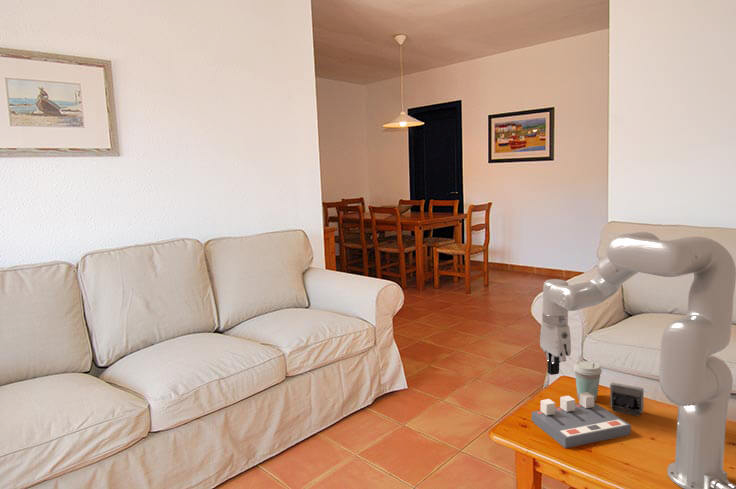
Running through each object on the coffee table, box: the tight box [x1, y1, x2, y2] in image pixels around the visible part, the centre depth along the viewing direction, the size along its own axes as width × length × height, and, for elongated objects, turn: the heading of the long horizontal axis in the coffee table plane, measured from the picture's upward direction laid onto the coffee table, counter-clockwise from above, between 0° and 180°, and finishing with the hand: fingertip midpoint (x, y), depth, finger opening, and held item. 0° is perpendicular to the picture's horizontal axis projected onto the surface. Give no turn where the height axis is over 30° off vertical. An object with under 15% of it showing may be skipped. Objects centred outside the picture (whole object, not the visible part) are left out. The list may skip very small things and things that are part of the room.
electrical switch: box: [609, 382, 645, 417], centre depth 151 cm, size 9×5×9 cm, turn 57°
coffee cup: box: [573, 360, 603, 403], centre depth 161 cm, size 8×8×12 cm
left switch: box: [540, 398, 556, 416], centre depth 146 cm, size 3×3×4 cm
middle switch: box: [559, 395, 576, 412], centre depth 148 cm, size 3×3×4 cm
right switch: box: [578, 392, 595, 408], centre depth 150 cm, size 3×3×4 cm
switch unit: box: [531, 402, 632, 449], centre depth 143 cm, size 16×22×3 cm
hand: (553, 373), depth 154 cm, fingers closed
